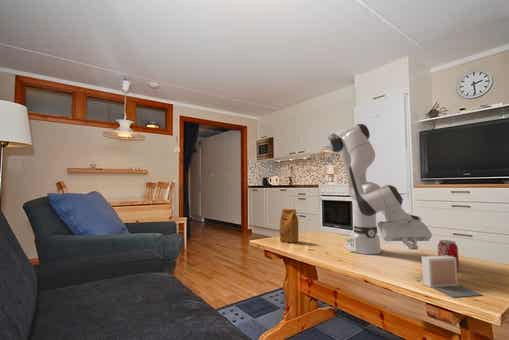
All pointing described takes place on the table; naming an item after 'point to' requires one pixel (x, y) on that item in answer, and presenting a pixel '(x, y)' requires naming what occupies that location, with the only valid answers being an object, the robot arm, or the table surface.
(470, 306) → the table surface
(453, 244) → the soda can
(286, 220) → the coffee package
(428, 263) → the tile
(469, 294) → the mat
